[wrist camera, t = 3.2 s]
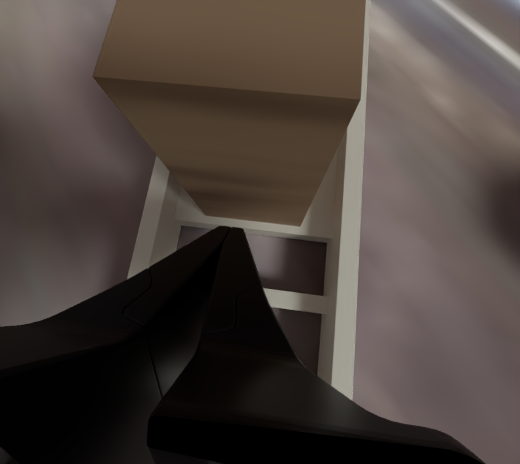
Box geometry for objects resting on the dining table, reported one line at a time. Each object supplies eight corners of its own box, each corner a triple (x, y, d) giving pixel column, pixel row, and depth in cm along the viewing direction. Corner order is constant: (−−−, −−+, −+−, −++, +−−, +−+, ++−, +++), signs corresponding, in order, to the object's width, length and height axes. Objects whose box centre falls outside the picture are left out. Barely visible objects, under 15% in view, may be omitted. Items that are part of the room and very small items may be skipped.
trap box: (332, 403, 15) (350, 434, 12) (135, 372, 16) (99, 393, 13) (357, -13, 22) (373, -68, 19) (219, -21, 23) (211, -75, 20)
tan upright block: (300, 226, 16) (360, 99, 6) (205, 215, 17) (92, 76, 6) (311, 114, 18) (373, -145, 7) (225, 107, 18) (165, -151, 8)
